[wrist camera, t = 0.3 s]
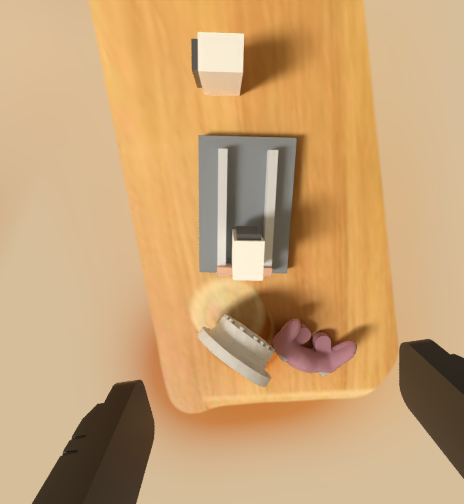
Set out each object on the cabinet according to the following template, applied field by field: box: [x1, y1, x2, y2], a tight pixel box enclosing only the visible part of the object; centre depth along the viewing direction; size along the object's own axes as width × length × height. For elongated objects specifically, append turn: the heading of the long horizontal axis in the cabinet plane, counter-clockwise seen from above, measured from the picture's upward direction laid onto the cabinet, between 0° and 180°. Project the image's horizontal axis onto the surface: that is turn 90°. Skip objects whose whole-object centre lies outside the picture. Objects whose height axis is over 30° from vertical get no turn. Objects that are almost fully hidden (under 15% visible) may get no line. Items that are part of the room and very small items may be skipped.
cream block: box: [192, 32, 244, 96], centre depth 28 cm, size 5×3×7 cm, turn 89°
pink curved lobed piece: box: [272, 318, 357, 376], centre depth 38 cm, size 10×5×7 cm
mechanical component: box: [198, 314, 275, 387], centre depth 34 cm, size 10×4×10 cm, turn 49°
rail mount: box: [199, 135, 297, 281], centre depth 31 cm, size 16×11×8 cm
